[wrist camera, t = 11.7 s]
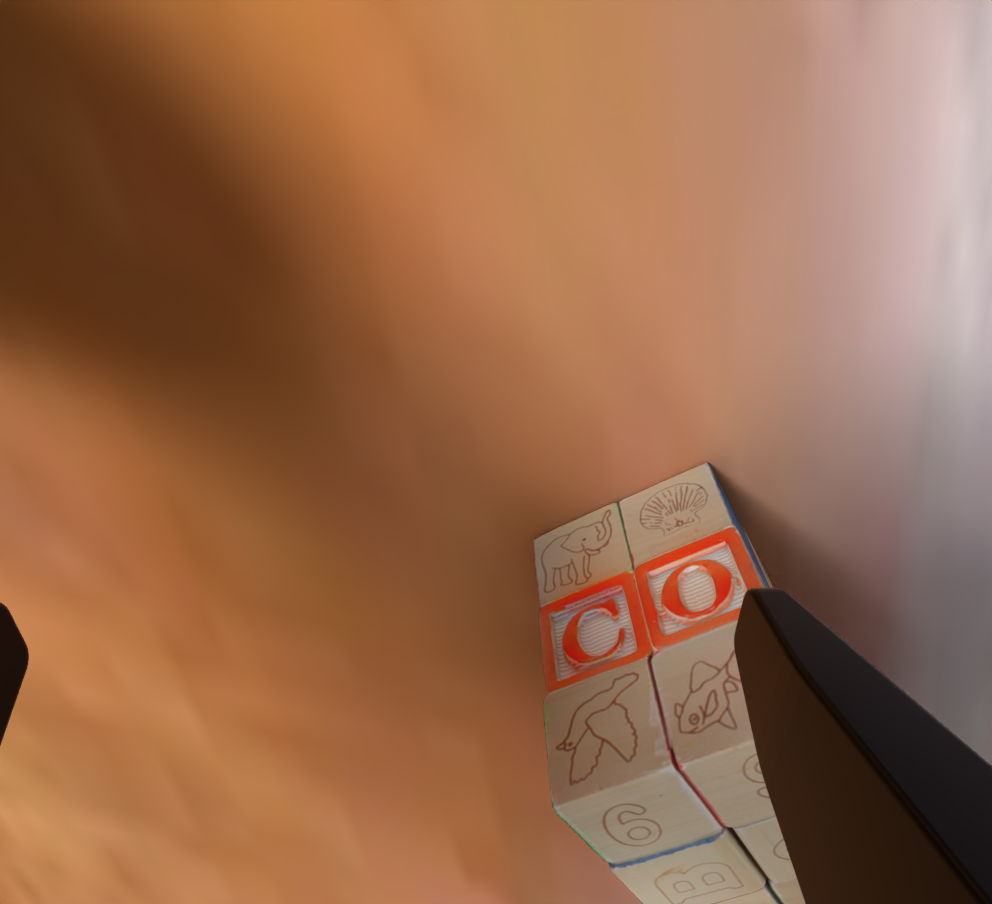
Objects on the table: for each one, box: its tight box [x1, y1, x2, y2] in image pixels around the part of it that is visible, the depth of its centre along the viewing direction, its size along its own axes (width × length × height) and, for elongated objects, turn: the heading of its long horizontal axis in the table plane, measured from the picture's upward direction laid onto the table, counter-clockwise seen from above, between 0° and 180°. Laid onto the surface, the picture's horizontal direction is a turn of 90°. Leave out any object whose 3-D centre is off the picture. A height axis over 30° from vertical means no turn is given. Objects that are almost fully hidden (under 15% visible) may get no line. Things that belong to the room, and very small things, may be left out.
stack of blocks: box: [533, 463, 805, 904], centre depth 24 cm, size 21×6×12 cm, turn 30°
